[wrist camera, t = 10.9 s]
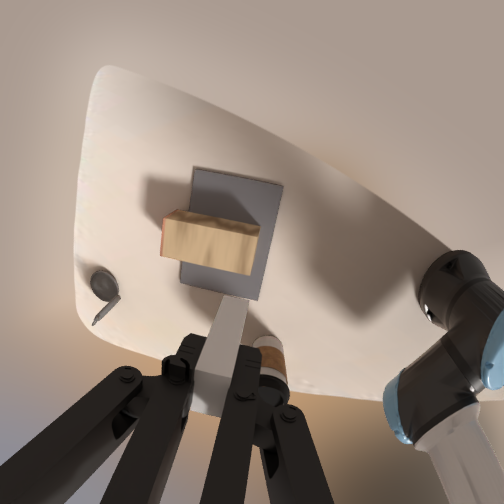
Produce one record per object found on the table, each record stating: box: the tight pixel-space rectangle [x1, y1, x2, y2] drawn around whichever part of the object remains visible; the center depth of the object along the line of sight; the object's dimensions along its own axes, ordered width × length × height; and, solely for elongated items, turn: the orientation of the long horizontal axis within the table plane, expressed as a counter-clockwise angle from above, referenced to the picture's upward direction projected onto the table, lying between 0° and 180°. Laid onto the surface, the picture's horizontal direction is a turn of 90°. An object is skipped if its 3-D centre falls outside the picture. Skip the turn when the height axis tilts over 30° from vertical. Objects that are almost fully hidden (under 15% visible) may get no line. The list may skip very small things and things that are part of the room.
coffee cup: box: [252, 336, 290, 407], centre depth 50 cm, size 8×8×15 cm
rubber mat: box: [180, 169, 283, 301], centre depth 50 cm, size 14×20×1 cm
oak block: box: [160, 210, 261, 276], centre depth 47 cm, size 6×6×14 cm
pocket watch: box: [90, 271, 121, 326], centre depth 52 cm, size 8×8×10 cm
